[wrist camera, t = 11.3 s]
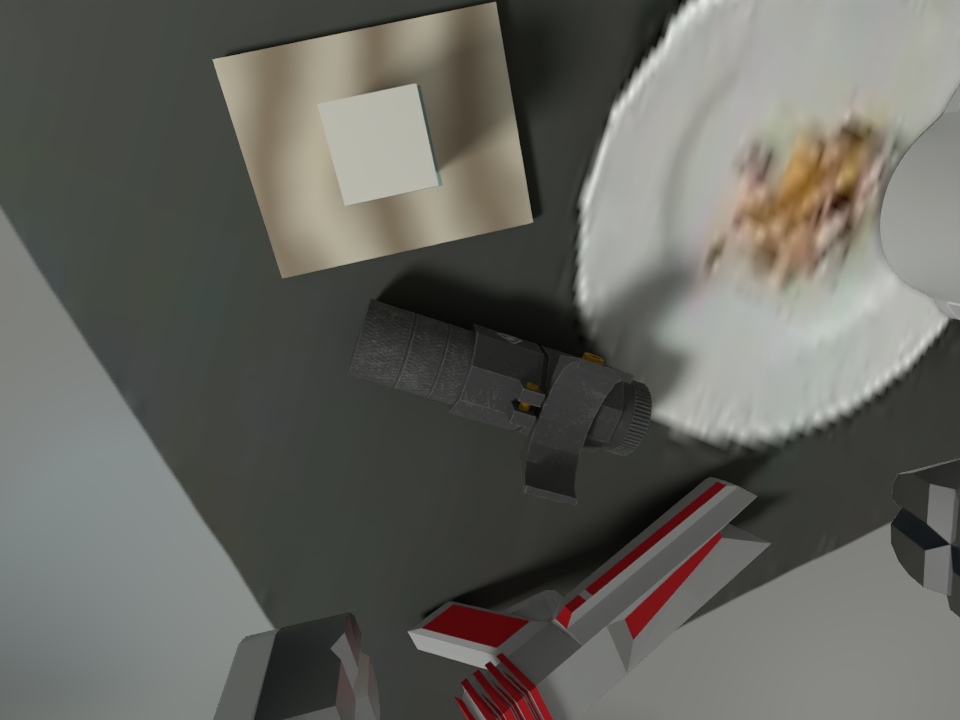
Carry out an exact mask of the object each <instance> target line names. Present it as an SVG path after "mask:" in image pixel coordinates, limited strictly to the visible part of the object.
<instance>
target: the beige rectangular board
mask: <svg viewBox="0 0 960 720" xmlns="http://www.w3.org/2000/svg"><path fill="white" fill-rule="evenodd" d="M213 62H214V66H215V69H216V72H217V75H218V78H219V81H220V84H221V88H222V91H223V94H224V97H225V100H226V103H227V106H228V109H229V113H230V116H231V119H232V122H233V125H234V128H235V131H236V135H237V138H238V141H239V144H240V147H241V150H242V153H243V157H244V160H245V163H246V166H247V169H248V172H249V175H250V178H251V182H252V185H253V188H254V191H255V194H256V197H257V200H258V204H259V207H260V210H261V213H262V216H263V219H264V222H265V225H266V229H267V232H268V235H269V238H270V241H271V244H272V247H273V251H274V254H275V257H276V260H277V263H278V266H279V269H280V273H281V276H282V278H287V277H291V276H296V275H300V274H305V273H309V272H314V271H318V270H323V269H327V268H332V267H336V266H341V265H345V264H349V263H354V262H358V261H363V260H367V259H372V258H376V257H381V256H385V255H390V254H394V253H399V252H403V251H408V250H412V249H417V248H421V247H426V246H430V245H435V244H439V243H444V242H448V241H453V240H457V239H462V238H466V237H471V236H475V235H480V234H484V233H489V232H493V231H498V230H502V229H507V228H511V227H516V226H520V225H525V224H529V223H533V219H532V213H531V207H530V201H529V195H528V189H527V183H526V177H525V171H524V165H523V159H522V153H521V148H520V142H519V136H518V130H517V124H516V118H515V112H514V106H513V100H512V94H511V88H510V82H509V76H508V70H507V64H506V59H505V53H504V47H503V41H502V35H501V29H500V23H499V17H498V11H497V5H496V2H492V3H487V4H482V5H477V6H472V7H467V8H462V9H457V10H452V11H447V12H443V13H438V14H433V15H428V16H423V17H418V18H413V19H408V20H403V21H399V22H394V23H389V24H384V25H379V26H374V27H369V28H364V29H359V30H355V31H350V32H345V33H340V34H335V35H330V36H325V37H320V38H315V39H310V40H306V41H301V42H296V43H291V44H286V45H281V46H276V47H271V48H266V49H262V50H257V51H252V52H247V53H242V54H237V55H232V56H227V57H222V58H218V59H213ZM415 83H416V84H417V88H418V93H419V98H420V102H421V107H422V111H423V116H424V121H425V125H426V130H427V134H428V139H429V144H430V148H431V153H432V157H433V162H434V167H435V171H436V176H437V180H438V185H439V186H435V187H430V188H425V189H421V190H416V191H412V192H407V193H403V194H398V195H393V196H389V197H384V198H380V199H375V200H370V201H366V202H361V203H357V204H352V205H348V206H345V205H344V201H343V198H342V194H341V190H340V186H339V183H338V179H337V175H336V172H335V168H334V164H333V161H332V157H331V153H330V150H329V146H328V142H327V139H326V135H325V131H324V128H323V124H322V120H321V117H320V113H319V109H318V106H317V104H320V103H324V102H329V101H334V100H339V99H343V98H348V97H353V96H358V95H362V94H367V93H372V92H377V91H381V90H386V89H391V88H396V87H401V86H405V85H410V84H415Z"/></svg>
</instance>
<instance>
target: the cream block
mask: <svg viewBox="0 0 960 720" xmlns="http://www.w3.org/2000/svg"><path fill="white" fill-rule="evenodd" d="M317 106H318V109H319V113H320V117H321V120H322V124H323V128H324V131H325V135H326V139H327V142H328V146H329V150H330V153H331V157H332V161H333V164H334V168H335V172H336V175H337V179H338V183H339V186H340V190H341V194H342V198H343V201H344V205H345V206H348V205H352V204H357V203H361V202H366V201H370V200H375V199H380V198H384V197H389V196H393V195H398V194H403V193H407V192H412V191H416V190H421V189H425V188H430V187H435V186H439V185H438V180H437V176H436V171H435V167H434V162H433V157H432V153H431V148H430V144H429V139H428V134H427V130H426V125H425V121H424V116H423V111H422V107H421V102H420V98H419V93H418V88H417V84H416V83H415V84H410V85H405V86H401V87H396V88H391V89H386V90H381V91H377V92H372V93H367V94H362V95H358V96H353V97H348V98H343V99H339V100H334V101H329V102H324V103H320V104H317Z"/></svg>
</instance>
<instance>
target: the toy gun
mask: <svg viewBox="0 0 960 720" xmlns="http://www.w3.org/2000/svg"><path fill="white" fill-rule="evenodd" d="M757 497H758V496H756V495H754V494H752V493H750V492H749V491H747V490H745V489H743V488H741V487H739V486H736V485H734V484H732V483H729V482H727V481H724V480H720V479H716V478H713V477H709V478H707V479H705V480H704V481H703V482H702V483H700V484H699V485H698V486H697V487H695V488H694V489H693V490H692V491H691V492H689V493H688V494H687V495H686V496H685V497H683V498H682V499H681V500H680V501H679V502H677V503H676V504H675V505H674V506H673V507H671V508H670V509H669V510H668V511H667V512H665V513H664V514H663V515H662V516H661V517H659V518H658V519H657V520H656V521H655V522H653V523H652V524H651V525H650V526H649V527H647V528H646V529H645V530H644V531H643V532H641V533H640V534H639V535H638V536H637V537H635V538H634V539H633V540H632V541H631V542H629V543H628V544H627V545H626V546H625V547H623V548H622V549H621V550H620V551H619V552H617V553H616V554H615V555H614V556H613V557H611V558H610V559H609V560H608V561H607V562H605V563H604V564H603V565H602V566H601V567H599V568H598V569H597V570H596V571H595V572H593V573H592V574H591V575H590V576H589V577H587V578H586V579H585V580H584V581H582V582H581V583H580V584H579V585H578V586H576V587H575V588H574V589H573V590H572V591H570V592H569V593H568V594H567V595H566V596H564V597H563V596H561V595H560V594H559V593H558V592H557V591H553V590H545V591H543V592H540V593H538V594H536V595H534V596H532V597H530V598H528V599H526V600H524V601H522V602H520V603H518V604H515V605H513V606H511V607H509V608H507V609H505V610H503V611H501V612H499V611H495V610H490V609H485V608H481V607H476V606H471V605H466V604H462V603H457V602H452V601H449V602H447V603H445V604H444V605H442V606H441V607H440V608H438V609H437V610H436V611H434V612H433V613H432V614H430V615H429V616H428V617H426V618H425V619H424V620H422V621H421V622H419V623H418V624H417V625H415V626H414V627H413V628H411V629H410V630H409V631H408V633H409V635H410V637H411V638H412V640H413V642H414V643H415V645H416V647H417V648H418V649H419V650H423V651H426V652H430V653H433V654H436V655H440V656H443V657H447V658H450V659H453V660H457V661H460V662H464V663H467V664H470V665H474V666H477V667H481V668H484V669H487V670H488V671H489V672H487V673H486V674H485V675H483V674H482V673H481V672H480V671H479V670H477V671H476V672H475V673H473V675H474V677H475V678H476V680H477V681H476V682H474V683H473V684H472V685H471V684H470V682H469V681H468V680H467V679H465V680H464V681H463V682H461V685H462V686H463V688H464V689H465V691H464V694H463V698H462V700H461V699H459V698H456V697H455V699H456V701H457V702H458V704H459V706H460V708H461V709H462V711H463V713H464V715H465V716H466V718H467V720H577V719H578V718H579V717H580V716H581V715H582V714H583V713H584V712H585V711H586V710H587V709H589V708H590V707H591V706H592V705H593V704H594V703H595V702H596V701H598V700H599V699H600V698H601V697H602V696H603V695H604V694H605V693H606V692H608V691H609V690H610V689H611V688H612V687H613V686H614V685H615V684H616V683H617V682H619V681H620V680H621V679H622V678H623V677H624V676H625V675H626V674H627V673H629V672H630V670H632V669H633V668H634V667H635V666H636V665H637V664H639V663H640V662H641V661H642V660H643V659H644V658H645V657H646V656H647V655H648V654H650V653H651V652H652V651H653V650H654V649H655V648H656V647H657V646H658V645H660V644H661V643H662V642H663V641H664V640H665V639H666V638H667V637H668V636H669V635H670V634H672V633H673V632H674V631H675V630H676V629H677V628H678V627H679V626H681V625H682V624H683V623H684V622H685V621H686V620H687V619H688V618H689V617H691V616H692V615H693V614H694V613H695V612H696V611H697V610H698V609H699V608H700V607H702V606H703V605H704V604H705V603H706V602H707V601H708V600H709V599H710V598H712V597H713V596H714V595H715V594H716V593H717V592H718V591H719V590H720V589H721V588H723V587H724V586H725V585H726V584H727V583H728V582H729V581H730V580H731V579H733V578H734V577H735V576H736V575H737V574H738V573H739V572H740V571H741V570H743V569H744V568H745V567H746V566H747V565H748V564H749V563H750V562H751V561H752V560H754V559H755V558H756V557H757V556H758V555H759V554H760V553H761V552H762V551H764V550H765V549H766V548H767V547H768V546H769V545H770V544H771V543H769V542H766V541H764V540H762V539H760V538H758V537H756V536H754V535H752V534H750V533H748V532H745V531H743V530H741V529H739V528H737V527H735V526H733V525H731V524H729V522H730V521H731V520H732V519H733V518H734V517H736V516H737V515H738V514H739V513H740V512H741V511H742V510H743V509H744V508H746V507H747V506H748V505H749V504H750V503H751V502H752V501H753V500H754V499H755V498H757ZM551 616H553V617H552V619H551V621H550V622H546V621H543V620H546V619H548V618H549V617H551Z"/></svg>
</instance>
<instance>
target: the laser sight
mask: <svg viewBox="0 0 960 720" xmlns="http://www.w3.org/2000/svg"><path fill="white" fill-rule="evenodd" d="M603 364H604V359H602V358H600V357H599V356H596V355H594V354H591V353H587V352H585V353H584V354H583V357H582V358H579V357H576V356H573V355H570V354H567V353H564V352H560V351H557V350H554V349H551V348H548V347H545V346H542V345H539V344H536V343H532V342H529V341H526V340H523V339H520V338H517V337H514V336H511V335H507V334H504V333H501V332H498V331H495V330H492V329H489V328H486V327H483V326H479V325H476V324H473V326H472V327H471V329H470V330H467V329H464V328H461V327H458V326H454V325H452V324H447V323H446V322H442V321H439V320H436V319H432V318H429V317H426V316H423V315H421V314H418V313H416V314H415V313H414V312H411V311H407V310H404V309H401V308H398V307H395V306H392V305H388V304H385V303H382V302H379V301H376V300H373V299H370V301H369V304H368V307H367V310H366V313H365V317H364V320H363V323H362V326H361V329H360V332H359V336H358V339H357V342H356V345H355V349H354V352H353V356H352V359H351V362H350V366H349V370H348V373H347V375H349V376H353V377H357V378H360V379H363V380H366V381H371V382H374V383H378V384H381V385H384V386H387V387H390V388H391V387H393V388H394V389H398V390H402V391H405V392H409V393H412V394H416V395H419V396H422V397H426V398H429V399H433V400H437V401H440V402H444V403H447V405H448V411H449V413H452V414H456V415H459V416H463V417H466V418H470V419H473V420H477V421H480V422H484V423H487V424H491V425H494V426H498V427H501V428H505V429H508V430H512V431H513V430H514V429H516V428H517V431H518V432H519V433H522V434H526V435H528V436H527V438H526V441H525V443H524V445H523V448H522V450H521V453H520V463H521V471H522V480H523V489H524V493H527V494H531V495H535V496H539V497H542V498H546V499H550V500H554V501H558V502H562V503H565V504H569V505H573V506H575V505H576V503H577V501H578V498H576V495H575V474H576V469H577V465H578V460H579V456H580V453H581V450H582V451H586V452H589V453H592V452H594V451H596V450H597V449H599V448H602V449H603V450H605V451H608V452H611V453H615V454H618V455H623V456H624V455H628V454H630V453H631V452H633V451H634V450H635V449H636V448H637V446H639V443H641V440H643V437H644V436H645V433H646V430H647V429H648V425H649V421H650V417H651V409H652V408H651V406H652V404H651V403H652V401H651V394H650V392H649V389H648V387H647V386H646V385H645V384H643V383H640V382H637V381H634V380H632V379H633V377H634V375H630V374H627V373H624V372H621V371H618V370H615V369H613V368H610V367H607V366H604V365H603Z"/></svg>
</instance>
